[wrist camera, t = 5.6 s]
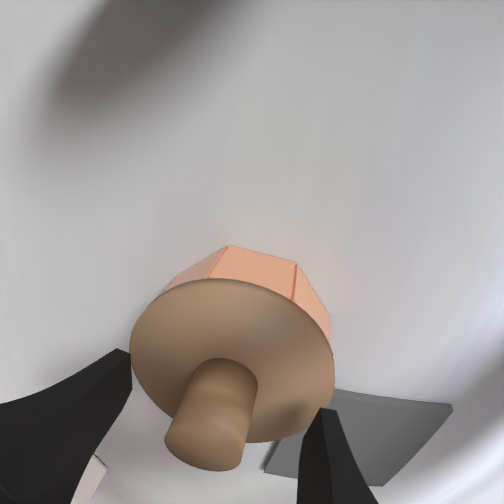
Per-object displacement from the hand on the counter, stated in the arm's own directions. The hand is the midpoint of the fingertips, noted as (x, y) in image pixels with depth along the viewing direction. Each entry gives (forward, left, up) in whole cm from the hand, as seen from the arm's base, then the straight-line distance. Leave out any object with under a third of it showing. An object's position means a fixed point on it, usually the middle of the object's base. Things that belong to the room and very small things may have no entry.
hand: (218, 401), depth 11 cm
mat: (-9, +8, -5) cm, 13 cm away
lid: (0, 0, -2) cm, 2 cm away
